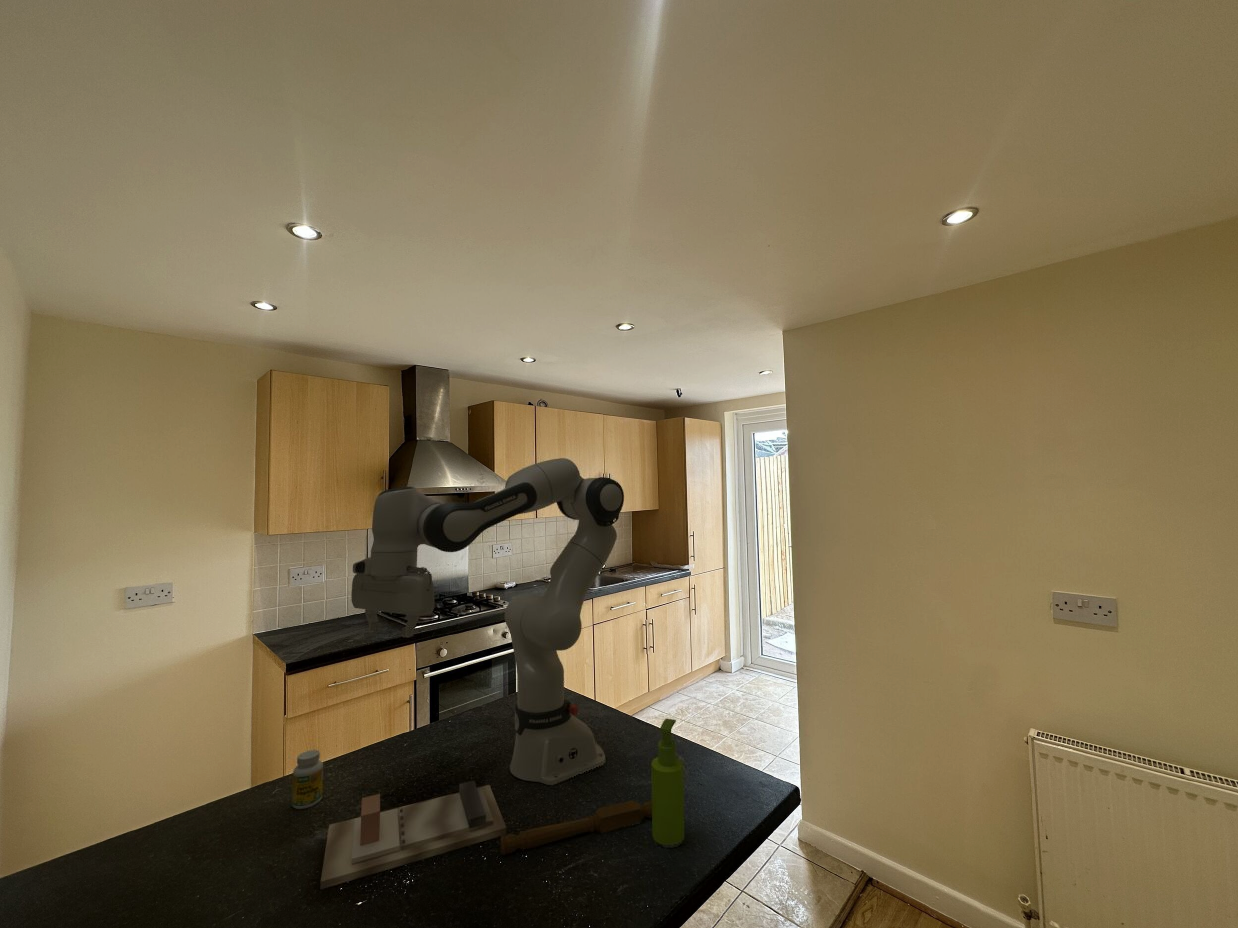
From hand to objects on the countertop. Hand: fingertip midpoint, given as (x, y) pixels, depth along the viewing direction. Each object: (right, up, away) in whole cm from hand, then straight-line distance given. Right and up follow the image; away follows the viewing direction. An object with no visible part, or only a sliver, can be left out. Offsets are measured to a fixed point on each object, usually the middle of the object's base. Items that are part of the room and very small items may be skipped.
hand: (390, 633), depth 101 cm
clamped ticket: (+9, -35, -8) cm, 37 cm away
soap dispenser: (+56, -35, -9) cm, 66 cm away
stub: (+2, -33, -11) cm, 35 cm away
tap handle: (+40, -35, -8) cm, 54 cm away
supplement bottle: (-19, -36, +2) cm, 41 cm away
